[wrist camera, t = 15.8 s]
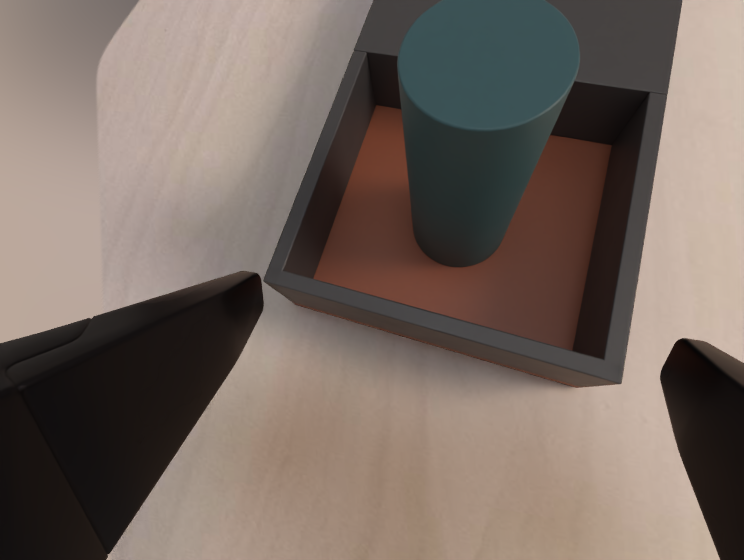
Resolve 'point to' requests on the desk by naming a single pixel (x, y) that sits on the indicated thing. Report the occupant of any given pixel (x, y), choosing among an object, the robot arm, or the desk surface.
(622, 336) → the toy kitchen
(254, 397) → the desk surface
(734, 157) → the desk surface
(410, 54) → the teal green cylinder
